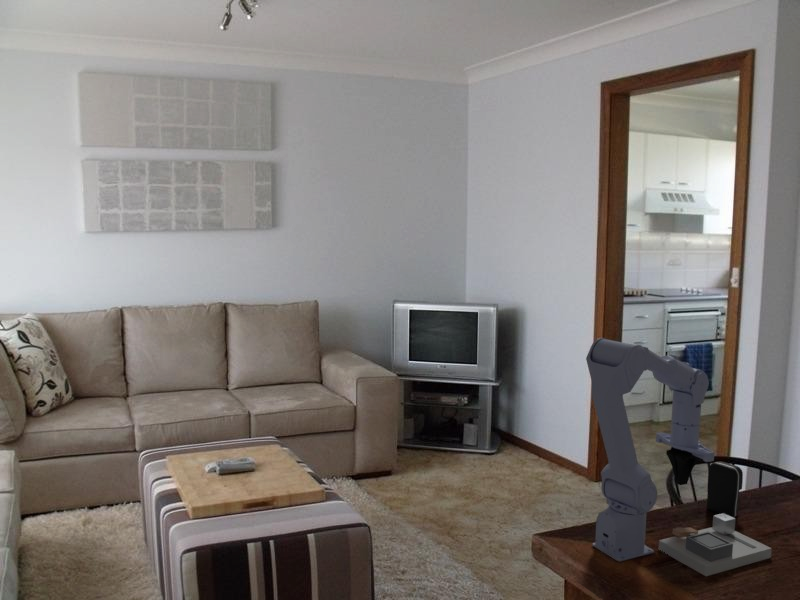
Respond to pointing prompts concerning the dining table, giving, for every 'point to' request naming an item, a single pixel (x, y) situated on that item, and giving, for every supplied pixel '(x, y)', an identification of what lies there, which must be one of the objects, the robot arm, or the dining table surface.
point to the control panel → (715, 551)
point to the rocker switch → (684, 531)
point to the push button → (709, 541)
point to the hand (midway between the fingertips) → (681, 483)
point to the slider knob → (723, 524)
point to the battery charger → (724, 488)
